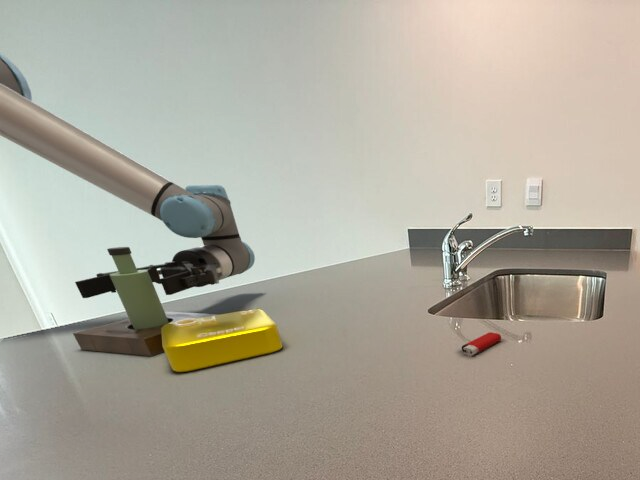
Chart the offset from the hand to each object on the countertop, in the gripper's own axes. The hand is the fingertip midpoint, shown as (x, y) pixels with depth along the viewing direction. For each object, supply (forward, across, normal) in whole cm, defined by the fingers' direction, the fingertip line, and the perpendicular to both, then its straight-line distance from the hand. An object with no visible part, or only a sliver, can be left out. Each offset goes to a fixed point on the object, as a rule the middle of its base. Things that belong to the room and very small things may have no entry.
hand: (123, 288), depth 68 cm
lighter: (+9, -60, -10) cm, 61 cm away
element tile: (+5, -17, -10) cm, 20 cm away
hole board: (-2, 0, -10) cm, 10 cm away
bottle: (-2, 0, -10) cm, 10 cm away
